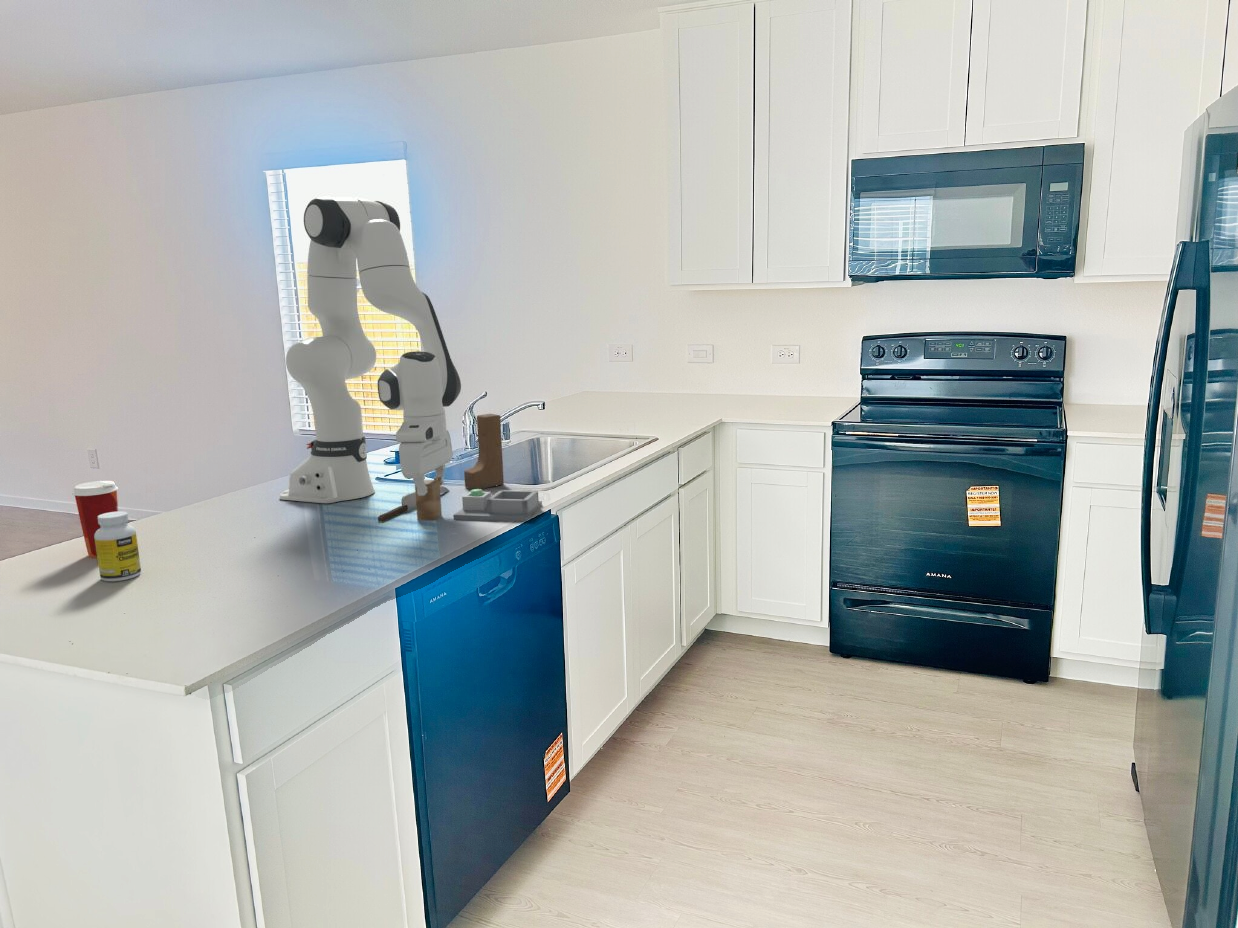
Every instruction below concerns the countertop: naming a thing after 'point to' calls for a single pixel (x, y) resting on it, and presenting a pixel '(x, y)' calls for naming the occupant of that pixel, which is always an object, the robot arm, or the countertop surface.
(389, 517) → the kitchen knife
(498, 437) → the wooden block
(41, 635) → the countertop surface
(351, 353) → the robot arm
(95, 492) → the paper cup
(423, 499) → the block
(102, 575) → the pill bottle
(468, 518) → the gray button tray fixture
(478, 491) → the button
